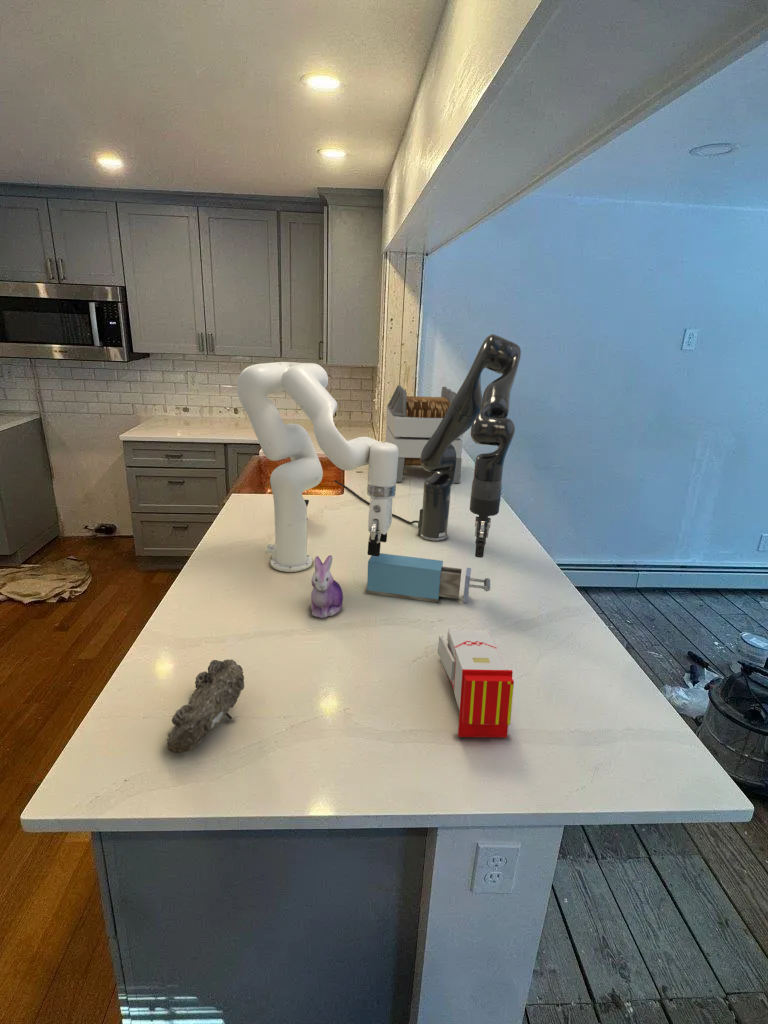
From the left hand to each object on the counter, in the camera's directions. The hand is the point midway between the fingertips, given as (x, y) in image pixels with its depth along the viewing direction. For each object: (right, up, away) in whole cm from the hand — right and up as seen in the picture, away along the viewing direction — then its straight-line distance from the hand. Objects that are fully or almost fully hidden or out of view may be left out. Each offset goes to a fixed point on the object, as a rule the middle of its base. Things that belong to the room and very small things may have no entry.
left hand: (377, 548), depth 156 cm
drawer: (+19, -13, 0) cm, 23 cm away
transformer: (+19, +29, +119) cm, 124 cm away
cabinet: (+7, -13, +3) cm, 15 cm away
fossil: (-31, -29, -48) cm, 64 cm away
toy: (+20, -28, -38) cm, 51 cm away
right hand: (+27, -2, -5) cm, 28 cm away
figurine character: (-29, +5, +48) cm, 56 cm away
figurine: (-13, -16, -9) cm, 22 cm away
